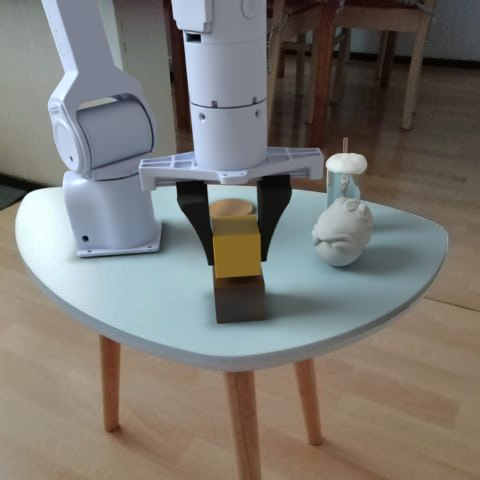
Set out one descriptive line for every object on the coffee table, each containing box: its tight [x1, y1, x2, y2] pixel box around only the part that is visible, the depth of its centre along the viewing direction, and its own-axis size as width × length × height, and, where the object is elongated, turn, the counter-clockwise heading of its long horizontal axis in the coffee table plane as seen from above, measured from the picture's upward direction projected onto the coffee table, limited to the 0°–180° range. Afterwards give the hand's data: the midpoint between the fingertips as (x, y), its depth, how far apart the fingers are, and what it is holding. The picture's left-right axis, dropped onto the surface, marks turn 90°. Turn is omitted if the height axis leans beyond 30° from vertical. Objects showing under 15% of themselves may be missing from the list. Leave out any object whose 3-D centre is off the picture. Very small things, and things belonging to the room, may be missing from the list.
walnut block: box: [211, 266, 266, 324], centre depth 47 cm, size 5×5×4 cm
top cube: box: [211, 213, 262, 278], centre depth 44 cm, size 4×4×4 cm
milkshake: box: [325, 137, 368, 210], centre depth 57 cm, size 4×5×10 cm
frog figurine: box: [311, 197, 375, 267], centre depth 52 cm, size 6×7×7 cm
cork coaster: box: [209, 198, 254, 218], centre depth 65 cm, size 6×6×1 cm
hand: (236, 258), depth 44 cm, fingers closed on top cube, 4 cm apart
